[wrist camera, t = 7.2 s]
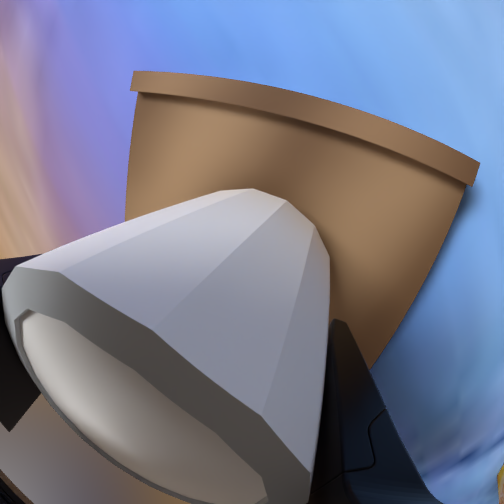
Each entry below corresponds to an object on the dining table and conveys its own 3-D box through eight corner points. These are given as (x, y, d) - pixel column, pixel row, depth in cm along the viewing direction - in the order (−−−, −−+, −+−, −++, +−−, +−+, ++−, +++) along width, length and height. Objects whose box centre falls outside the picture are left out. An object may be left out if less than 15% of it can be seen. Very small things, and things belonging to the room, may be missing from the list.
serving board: (462, 157, 8) (480, 163, 7) (344, 389, 14) (340, 415, 12) (159, 74, 10) (133, 70, 9) (138, 304, 16) (120, 321, 14)
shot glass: (393, 245, 8) (424, 476, 2) (284, 373, 12) (219, 525, 6) (200, 130, 9) (-21, 179, 3) (146, 285, 12) (25, 391, 6)
